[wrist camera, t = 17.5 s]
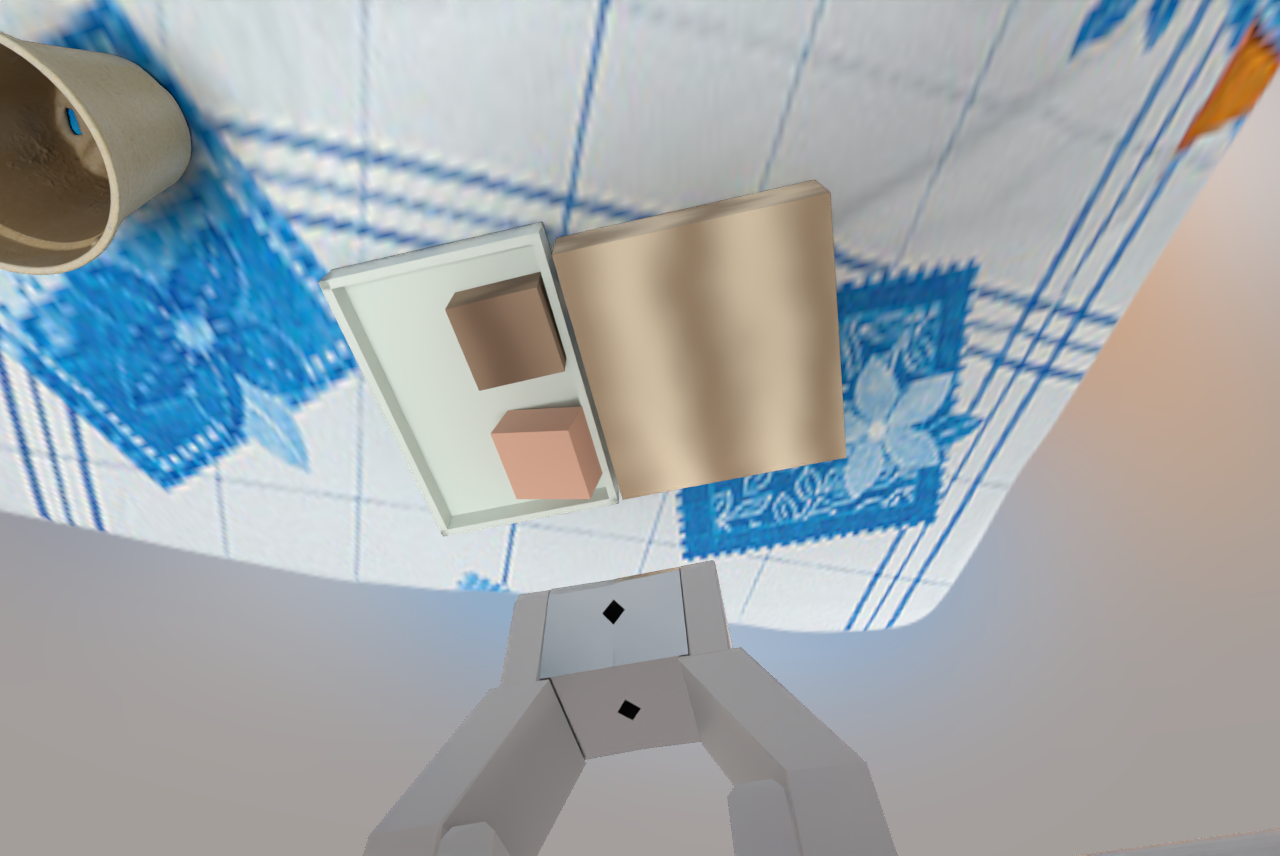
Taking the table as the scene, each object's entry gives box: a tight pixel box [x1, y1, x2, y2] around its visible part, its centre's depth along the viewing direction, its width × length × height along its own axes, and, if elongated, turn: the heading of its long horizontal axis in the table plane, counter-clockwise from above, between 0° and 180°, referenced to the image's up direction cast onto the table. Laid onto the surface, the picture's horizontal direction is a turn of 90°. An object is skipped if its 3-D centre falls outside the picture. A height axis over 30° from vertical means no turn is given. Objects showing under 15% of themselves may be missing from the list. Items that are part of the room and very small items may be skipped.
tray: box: [318, 222, 619, 536], centre depth 40 cm, size 12×18×2 cm, turn 12°
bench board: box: [552, 180, 846, 500], centre depth 38 cm, size 14×16×3 cm
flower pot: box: [0, 31, 191, 275], centre depth 29 cm, size 9×9×9 cm
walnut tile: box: [445, 272, 567, 391], centre depth 37 cm, size 5×5×2 cm
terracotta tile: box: [490, 407, 603, 499], centre depth 41 cm, size 5×5×2 cm
